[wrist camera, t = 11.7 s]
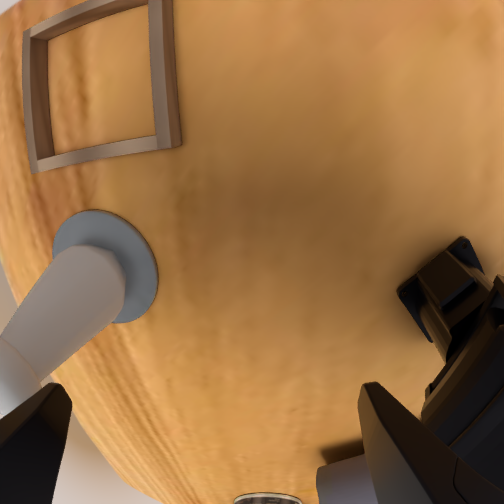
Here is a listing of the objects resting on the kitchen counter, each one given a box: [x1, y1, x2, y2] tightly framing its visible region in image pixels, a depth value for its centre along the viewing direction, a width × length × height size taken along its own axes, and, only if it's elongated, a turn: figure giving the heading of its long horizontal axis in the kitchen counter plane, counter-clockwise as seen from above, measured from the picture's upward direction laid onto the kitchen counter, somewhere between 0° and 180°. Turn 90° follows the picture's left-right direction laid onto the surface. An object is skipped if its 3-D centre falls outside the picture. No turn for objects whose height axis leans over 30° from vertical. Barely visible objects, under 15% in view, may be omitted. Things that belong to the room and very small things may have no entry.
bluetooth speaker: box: [316, 453, 378, 504], centre depth 23 cm, size 23×9×10 cm, turn 111°
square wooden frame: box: [22, 0, 182, 174], centre depth 16 cm, size 11×11×2 cm
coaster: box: [52, 210, 158, 323], centre depth 22 cm, size 9×9×1 cm
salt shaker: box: [0, 244, 126, 416], centre depth 15 cm, size 6×6×13 cm
